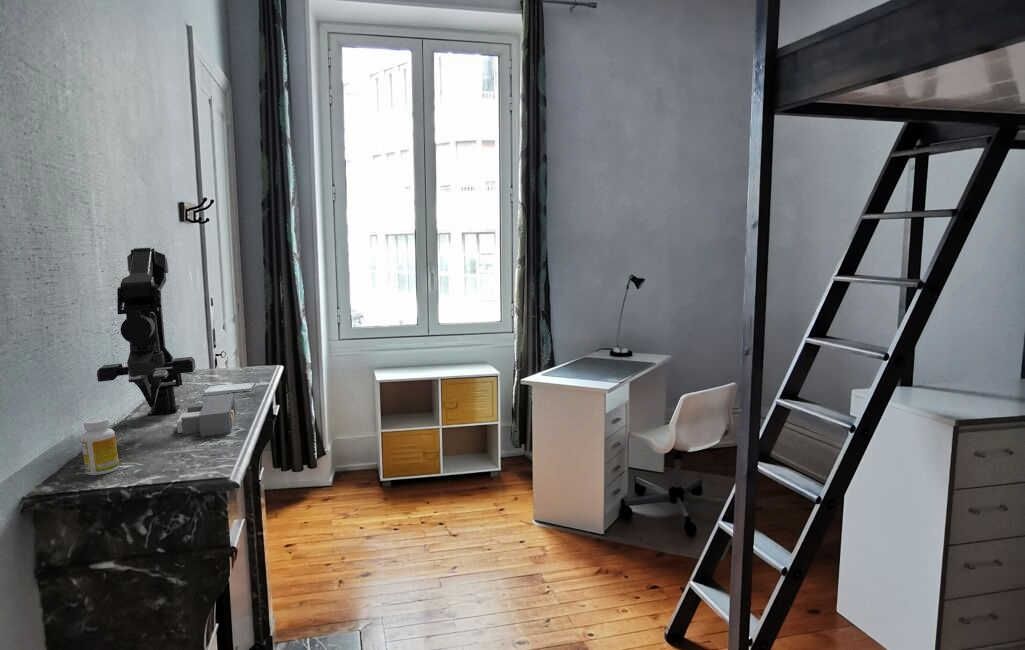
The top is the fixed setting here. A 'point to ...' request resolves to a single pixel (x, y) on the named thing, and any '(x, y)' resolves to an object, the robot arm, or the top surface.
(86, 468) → the supplement bottle
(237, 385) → the hard drive
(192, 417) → the dock
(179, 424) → the white flat block
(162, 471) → the top surface
